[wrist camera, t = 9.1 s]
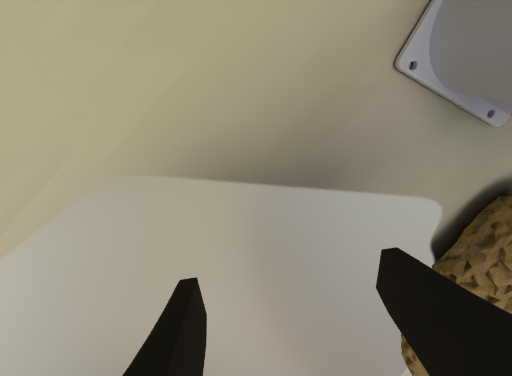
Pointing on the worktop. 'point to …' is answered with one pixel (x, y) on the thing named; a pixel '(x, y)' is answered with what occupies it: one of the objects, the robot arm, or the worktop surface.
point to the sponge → (478, 263)
